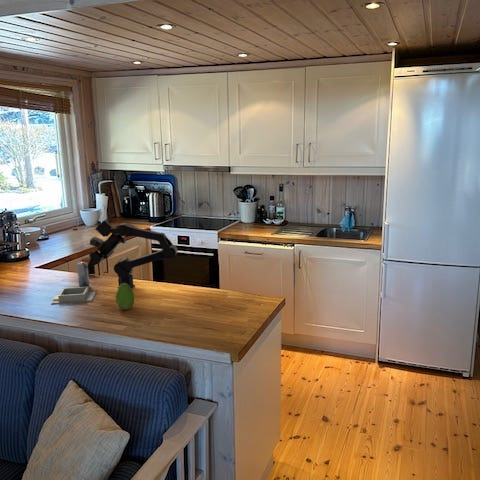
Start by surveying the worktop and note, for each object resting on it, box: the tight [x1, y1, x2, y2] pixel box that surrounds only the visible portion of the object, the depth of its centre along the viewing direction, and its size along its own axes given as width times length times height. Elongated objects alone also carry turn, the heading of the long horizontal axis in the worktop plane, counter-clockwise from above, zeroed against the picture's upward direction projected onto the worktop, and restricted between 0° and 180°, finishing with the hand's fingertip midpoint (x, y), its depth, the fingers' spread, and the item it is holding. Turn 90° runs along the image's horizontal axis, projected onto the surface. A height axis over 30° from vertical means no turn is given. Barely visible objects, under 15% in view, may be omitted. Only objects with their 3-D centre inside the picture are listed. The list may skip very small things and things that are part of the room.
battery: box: [80, 255, 96, 276], centre depth 266 cm, size 4×7×10 cm, turn 114°
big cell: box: [76, 261, 90, 289], centre depth 242 cm, size 5×5×13 cm
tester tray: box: [51, 286, 97, 305], centre depth 226 cm, size 18×13×4 cm
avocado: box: [115, 283, 135, 311], centre depth 209 cm, size 8×8×12 cm
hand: (91, 264), depth 240 cm, fingers open, 9 cm apart
